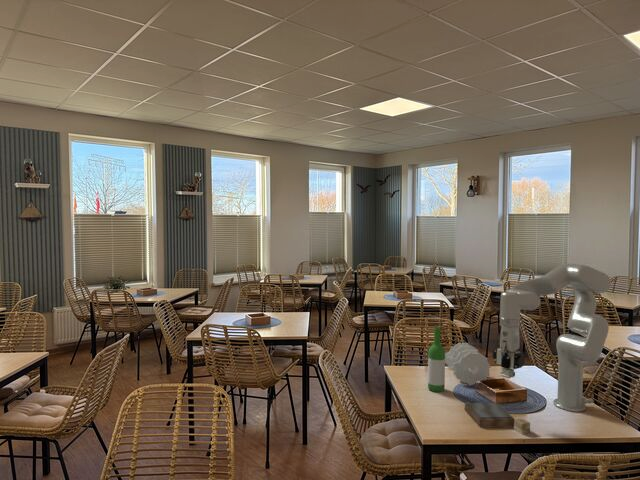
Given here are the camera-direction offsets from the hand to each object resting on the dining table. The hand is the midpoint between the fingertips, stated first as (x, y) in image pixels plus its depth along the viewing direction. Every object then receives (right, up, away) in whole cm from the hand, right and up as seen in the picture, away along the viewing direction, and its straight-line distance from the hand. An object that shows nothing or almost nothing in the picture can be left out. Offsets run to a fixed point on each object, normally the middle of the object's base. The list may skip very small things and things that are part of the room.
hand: (508, 365), depth 184 cm
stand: (-8, -22, +1) cm, 23 cm away
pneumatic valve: (0, -5, 0) cm, 5 cm away
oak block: (+1, -22, -11) cm, 25 cm away
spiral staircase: (-2, -21, +47) cm, 52 cm away
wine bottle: (-21, -21, +32) cm, 44 cm away
